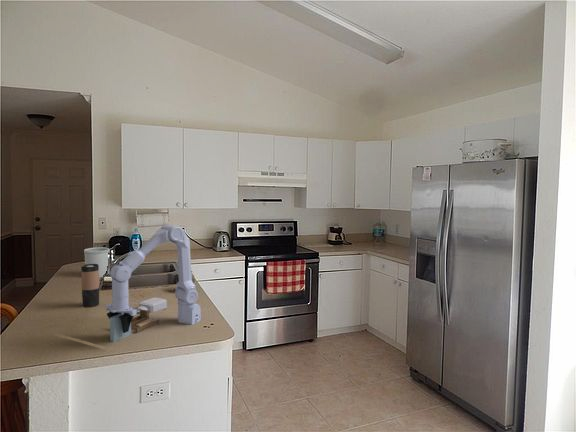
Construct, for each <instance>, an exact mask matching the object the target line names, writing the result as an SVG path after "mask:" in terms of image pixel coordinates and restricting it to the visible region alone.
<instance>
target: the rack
mask: <svg viewBox="0 0 576 432" xmlns="http://www.w3.org/2000/svg"><path fill="white" fill-rule="evenodd" d="M148 319H150V312H149V311H147V310H142V309H141V310H140V313H139V315H137V316H134V317H133V319H132V321H131V334H133V335H135V334H138V333H141V332H143V331H145V330H146V329H149V328H152V327H155V326H157V325H158V324H161V322H160V319H156V320H153V322H151V323H149V324H146V325H144V326H142V327H139V328H137V329H136V330H134V327H135V325H136V324H138V323H140V322H143V321H145V320H148Z"/></svg>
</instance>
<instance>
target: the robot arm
mask: <svg viewBox="0 0 576 432" xmlns="http://www.w3.org/2000/svg"><path fill="white" fill-rule="evenodd" d="M170 242H172V244H174V245H175V246H176V254H177V255H176V256H177V271H178V274H179V282H178V283H176V288H175V291H174V297H175V298H176V299H177V322H178V323H180V324H187V325H191V326H192V325H195V324H196V323H198V322H199V323H200V321H202V315H201V314H202V309H201V308H202V307H201V305H200V304H198V303H196V301H197V300H198V298H199V293H198V291H197V289H196V284H195V282H194V283H193V282H192V275H191V271H192V261H191V260H192V259H191V242H190V239H189V237H188V235H187V233H186V230H185V229H183V228H181V227H180V226H178V225H171V224H169V223H168V224H163V225H162V226H161V227H160V228H158V229H157V230H156V231H155V233H154V234H153V235H152V236H151V237H150V238H149V239H148V240H147V241H146V242H145V243H144V244H143V245H142V246H141V247H140V248H139V249H138V250H133V251H129V252H128V253H127V254H128V255H127V256H126V257H124V259H123V260H120V261H119V262H118V264H115V265H113V266H111V269H110V270H109V275H108V276H110V278H111V284H112V285H111V292H112V293H111V296H112V299H111V301H112V304H110V303H108V304H106V305H104V307H105V311H109V312H107V313H106V316H107V317H108V319H109V320H110V317H113V316H116V315H119V314H121V313H124V315H121V316H119V318H120V320H121V323H122V331H123V333H126V332H128V331H129V327H130V323H131V321H132V319H133V318H134V317H135V316H136V315H137V316H138V314H137V310H136V308H133V307H131V306H129V305H130V303H129V302H130V299H129V298H130V296H129V280H130V278H131V277H132V274H133V272H134V271H135V270H136V269H138V267H139V266H140V265H141V264H143V262H144V261H145V258H146V256H147V255H148V254H149V253H150V252H152V251H153V250H154V249H156V247H158V246H159V245H160V244H163V243H165V244H166V243H170ZM178 274H177V275H178Z"/></svg>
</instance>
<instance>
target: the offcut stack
mask: <svg viewBox="0 0 576 432" xmlns="http://www.w3.org/2000/svg"><path fill="white" fill-rule="evenodd" d="M153 321H154V319H150V318H149V319H148V320H145V321H143V322H140V323H138V324H136V325H135V327H134V330H136V329H137V328H139V327H142V326H144V325H146V324H149V323H151V322H153Z"/></svg>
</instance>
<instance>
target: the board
mask: <svg viewBox="0 0 576 432" xmlns="http://www.w3.org/2000/svg"><path fill="white" fill-rule="evenodd" d="M121 315H124V313H121V314H119V315H116V316H113V317H110V319H109V337H110V338H109V341H110V342H112V343H113V342H114V343H115V342H118V341H120V340H121V339H124V338H126V337H128V336H131V335H132V333H131V323H130V327H129V331H128V332H126V333H123V331H122V323H121V320H120V318H119V316H121Z"/></svg>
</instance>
